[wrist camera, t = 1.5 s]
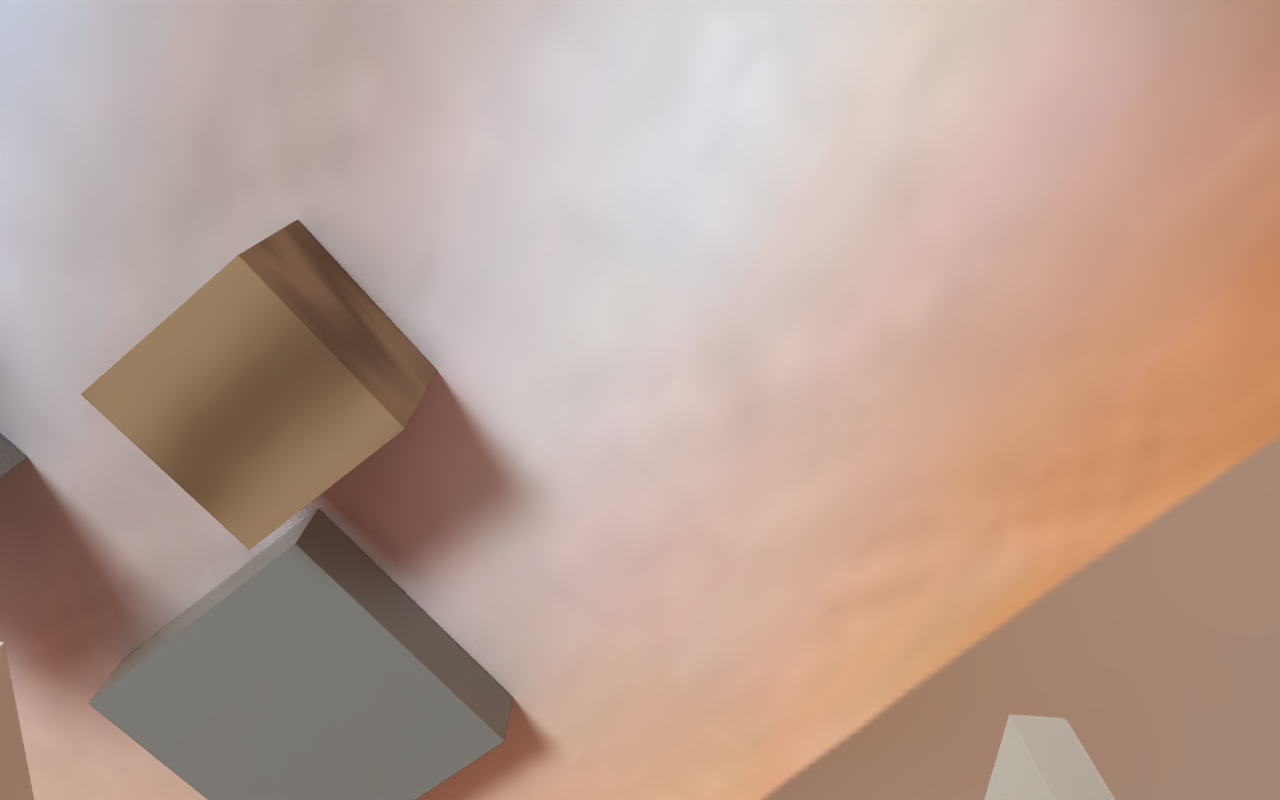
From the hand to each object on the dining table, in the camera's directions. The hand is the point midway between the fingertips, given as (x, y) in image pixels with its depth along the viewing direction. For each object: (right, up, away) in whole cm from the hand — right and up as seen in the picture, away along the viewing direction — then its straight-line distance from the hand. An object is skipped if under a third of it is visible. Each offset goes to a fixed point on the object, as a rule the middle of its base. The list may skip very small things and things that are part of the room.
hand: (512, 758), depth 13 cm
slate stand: (-14, -8, +33) cm, 36 cm away
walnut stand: (-12, +7, +27) cm, 30 cm away
